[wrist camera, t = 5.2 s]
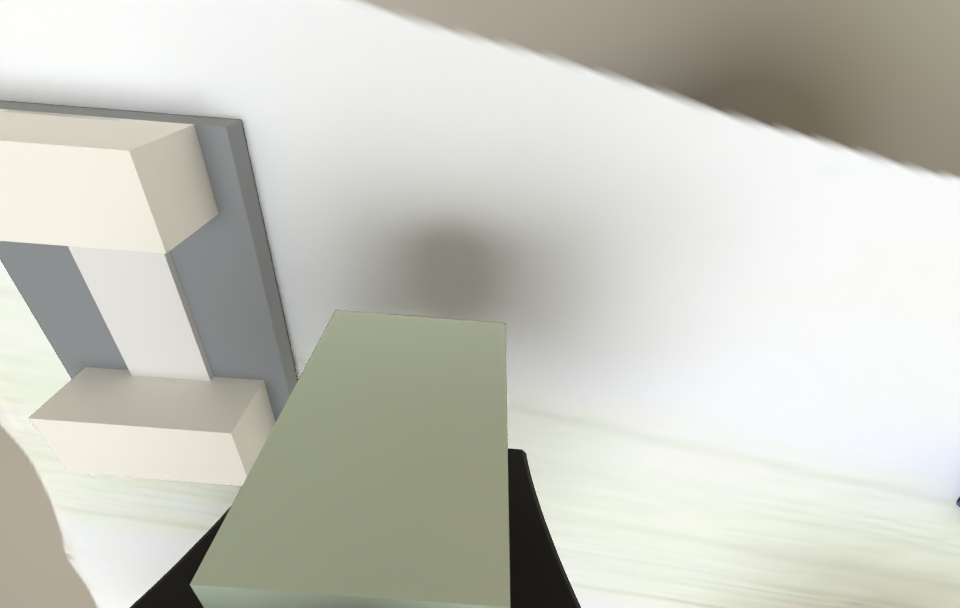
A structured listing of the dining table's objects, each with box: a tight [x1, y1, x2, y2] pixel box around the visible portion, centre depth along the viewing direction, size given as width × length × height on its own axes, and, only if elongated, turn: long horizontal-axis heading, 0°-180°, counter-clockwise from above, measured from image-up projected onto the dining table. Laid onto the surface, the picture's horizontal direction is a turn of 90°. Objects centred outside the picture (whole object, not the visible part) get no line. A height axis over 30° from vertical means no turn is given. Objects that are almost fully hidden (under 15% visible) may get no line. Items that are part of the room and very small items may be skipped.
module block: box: [190, 310, 510, 608], centre depth 10 cm, size 6×4×6 cm, turn 176°
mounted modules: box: [0, 109, 276, 486], centre depth 17 cm, size 14×8×3 cm, turn 176°
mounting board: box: [0, 101, 298, 422], centre depth 19 cm, size 15×10×1 cm, turn 176°
